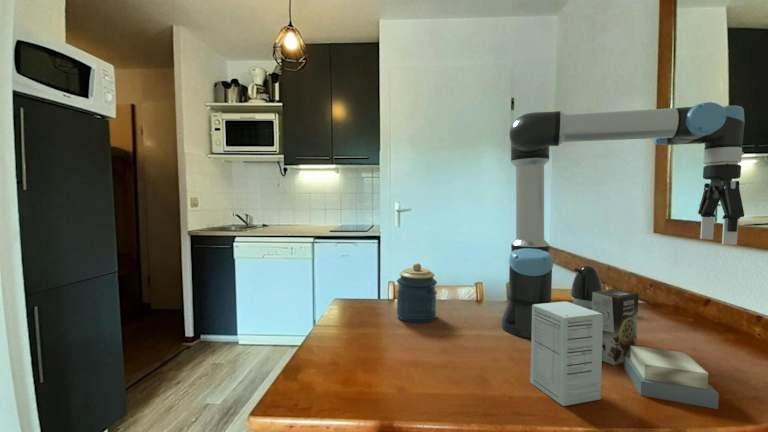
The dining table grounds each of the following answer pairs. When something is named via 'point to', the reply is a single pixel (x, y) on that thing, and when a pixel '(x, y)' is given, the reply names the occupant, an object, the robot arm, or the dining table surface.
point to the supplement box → (566, 352)
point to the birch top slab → (668, 367)
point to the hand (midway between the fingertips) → (717, 241)
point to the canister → (416, 295)
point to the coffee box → (617, 323)
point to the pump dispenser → (585, 286)
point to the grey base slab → (671, 389)
